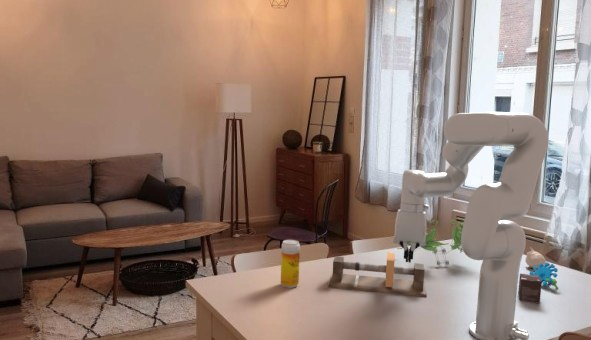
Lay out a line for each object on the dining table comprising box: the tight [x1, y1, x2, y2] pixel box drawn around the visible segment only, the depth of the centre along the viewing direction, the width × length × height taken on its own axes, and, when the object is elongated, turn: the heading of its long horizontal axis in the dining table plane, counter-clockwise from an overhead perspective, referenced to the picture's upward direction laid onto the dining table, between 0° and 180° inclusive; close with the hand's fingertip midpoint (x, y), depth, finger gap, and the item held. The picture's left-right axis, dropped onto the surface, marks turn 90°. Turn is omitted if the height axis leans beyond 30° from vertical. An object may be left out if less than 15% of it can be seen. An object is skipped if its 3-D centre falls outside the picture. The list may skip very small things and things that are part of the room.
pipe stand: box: [327, 255, 428, 298], centre depth 170 cm, size 32×12×8 cm, turn 79°
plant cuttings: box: [396, 219, 464, 268], centre depth 196 cm, size 35×17×22 cm
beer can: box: [280, 239, 301, 289], centre depth 167 cm, size 6×6×15 cm
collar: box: [385, 252, 396, 287], centre depth 169 cm, size 2×9×9 cm, turn 169°
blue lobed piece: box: [528, 261, 559, 289], centre depth 176 cm, size 11×6×10 cm
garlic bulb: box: [525, 246, 547, 270], centre depth 193 cm, size 7×6×8 cm
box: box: [517, 273, 543, 304], centre depth 162 cm, size 6×6×7 cm
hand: (408, 260), depth 167 cm, fingers closed
